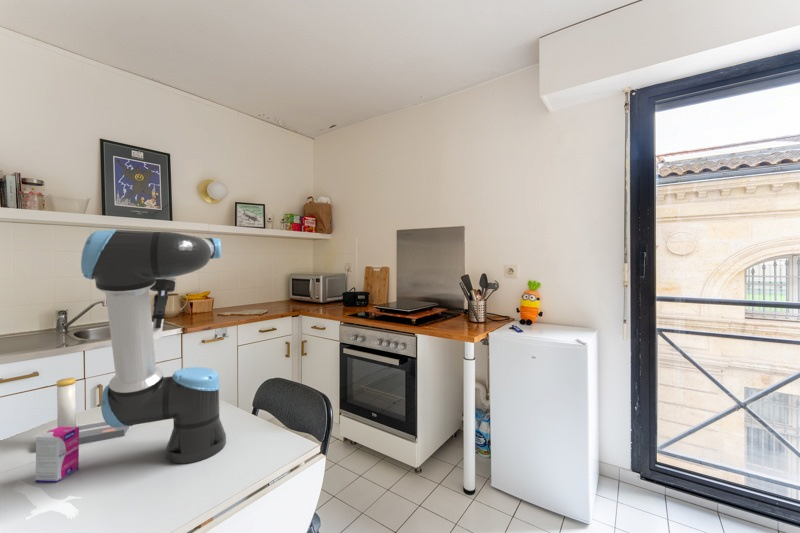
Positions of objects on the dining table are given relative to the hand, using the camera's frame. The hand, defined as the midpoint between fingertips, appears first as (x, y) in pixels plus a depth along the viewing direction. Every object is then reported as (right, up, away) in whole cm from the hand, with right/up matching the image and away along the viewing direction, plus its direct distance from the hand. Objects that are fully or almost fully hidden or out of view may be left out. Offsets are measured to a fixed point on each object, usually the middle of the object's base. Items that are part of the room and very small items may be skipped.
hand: (154, 339), depth 119 cm
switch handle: (-17, -26, -15) cm, 34 cm away
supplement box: (-2, -29, -32) cm, 43 cm away
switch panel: (-12, -28, -12) cm, 33 cm away
